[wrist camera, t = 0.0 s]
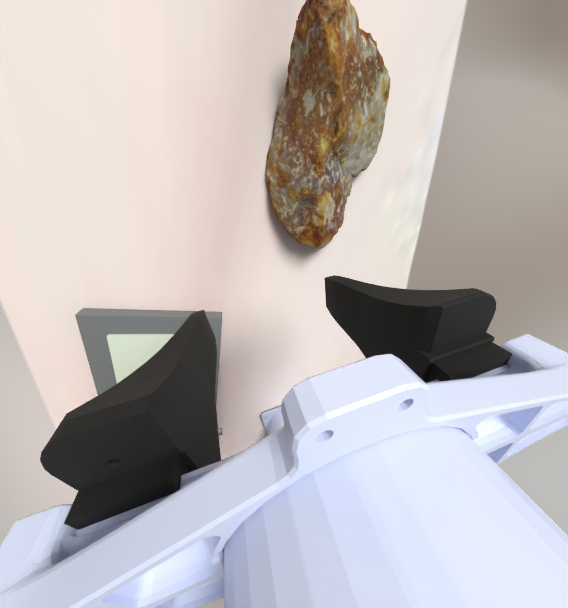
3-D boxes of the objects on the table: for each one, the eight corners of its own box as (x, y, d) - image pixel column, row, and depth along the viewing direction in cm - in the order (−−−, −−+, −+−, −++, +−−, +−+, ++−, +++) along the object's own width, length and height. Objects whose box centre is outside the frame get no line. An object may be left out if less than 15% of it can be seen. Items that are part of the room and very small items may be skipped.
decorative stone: (444, 0, 12) (370, 252, 21) (392, 32, 15) (347, 237, 24) (282, -49, 10) (275, 259, 18) (263, 2, 13) (265, 242, 22)
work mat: (212, 444, 33) (212, 454, 32) (122, 458, 30) (117, 470, 28) (221, 312, 23) (222, 319, 22) (82, 308, 19) (73, 317, 18)
